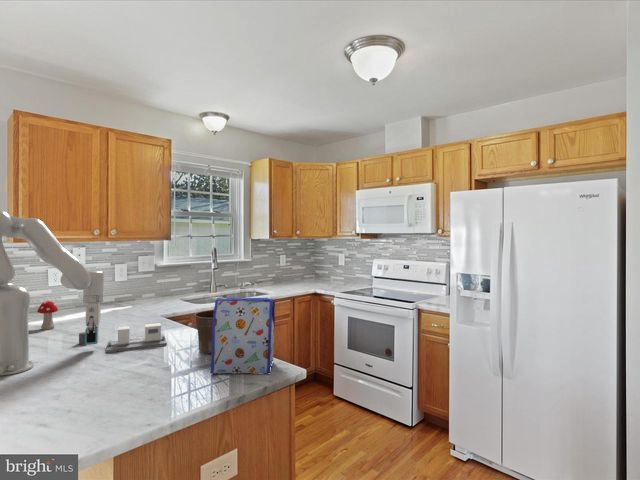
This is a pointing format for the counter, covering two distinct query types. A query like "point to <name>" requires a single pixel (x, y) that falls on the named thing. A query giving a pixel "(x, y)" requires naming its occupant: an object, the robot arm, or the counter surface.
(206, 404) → the counter surface
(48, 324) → the decorative mushroom
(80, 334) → the grey rectangular block
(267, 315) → the lunch bag
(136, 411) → the counter surface
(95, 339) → the teal module
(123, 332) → the block
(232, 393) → the counter surface
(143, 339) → the metal rail
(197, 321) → the plant pot
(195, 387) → the counter surface
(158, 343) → the board
